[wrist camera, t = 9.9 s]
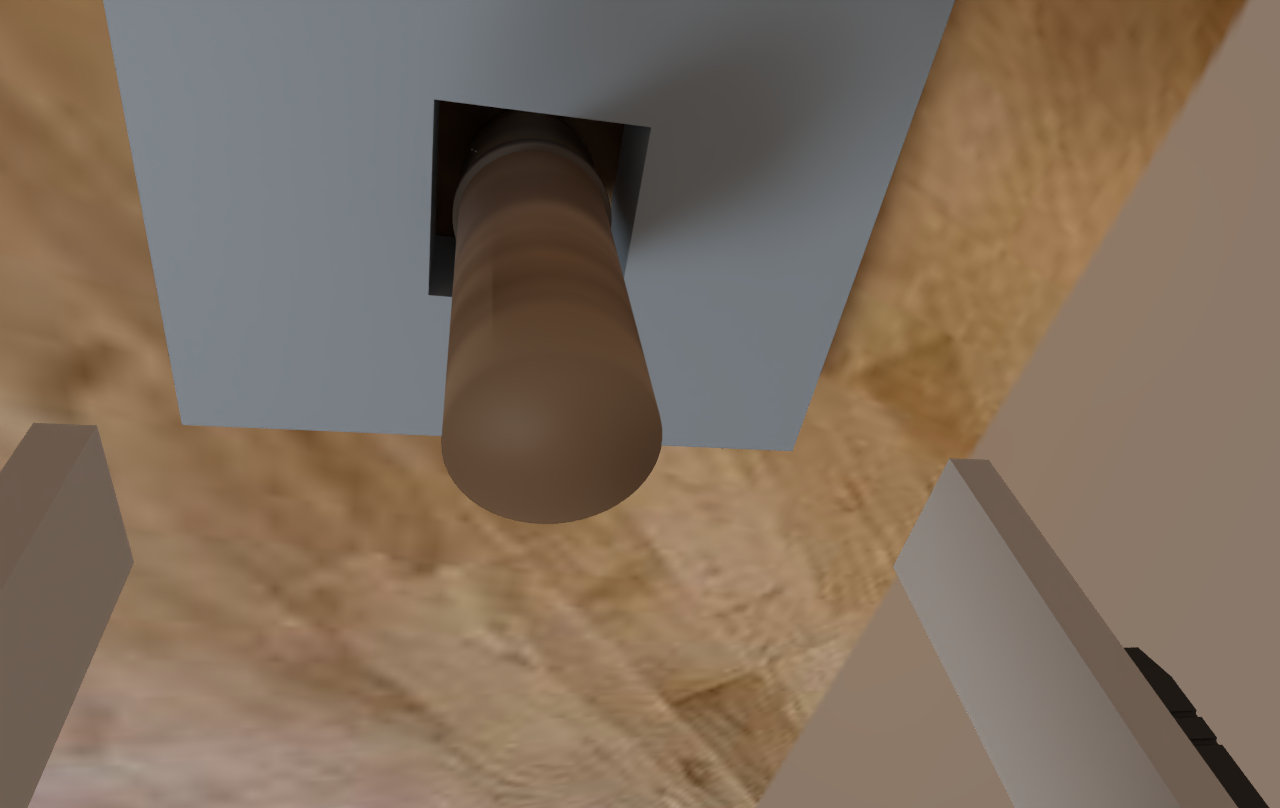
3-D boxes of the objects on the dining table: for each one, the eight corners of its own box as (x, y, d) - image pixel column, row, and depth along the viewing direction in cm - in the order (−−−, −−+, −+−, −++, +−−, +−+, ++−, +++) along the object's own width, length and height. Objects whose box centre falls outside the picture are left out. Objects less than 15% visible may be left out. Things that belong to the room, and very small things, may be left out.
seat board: (131, -220, 19) (62, -219, 16) (906, -69, 24) (971, -45, 21) (216, 352, 29) (181, 424, 25) (763, 386, 33) (792, 451, 30)
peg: (461, 83, 24) (435, 337, 13) (604, 102, 25) (692, 354, 14) (454, 218, 27) (429, 526, 16) (586, 231, 28) (648, 531, 17)
